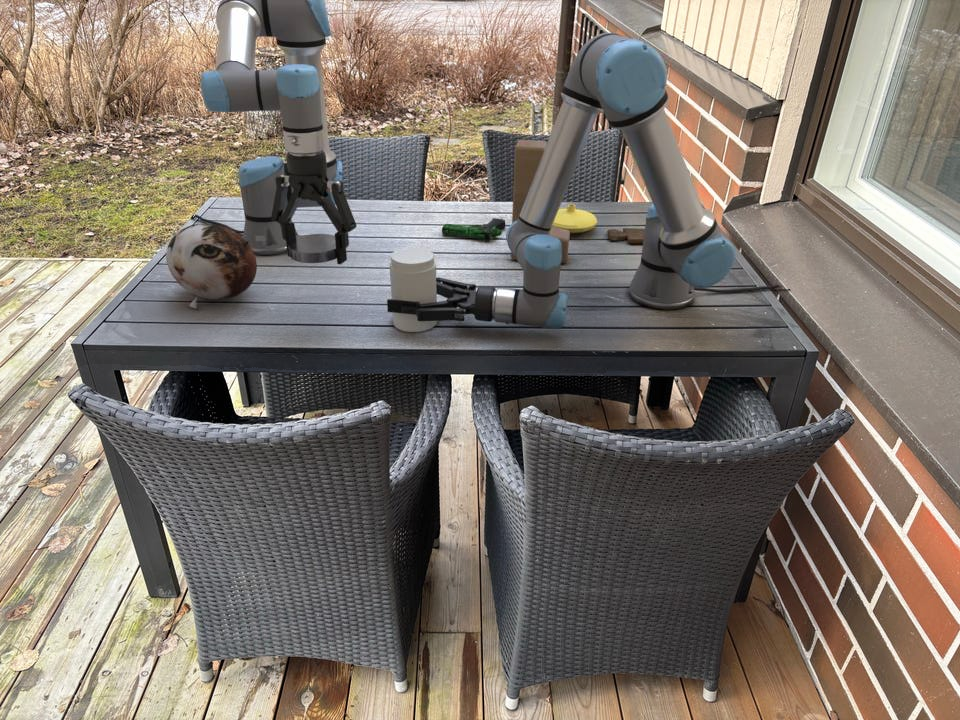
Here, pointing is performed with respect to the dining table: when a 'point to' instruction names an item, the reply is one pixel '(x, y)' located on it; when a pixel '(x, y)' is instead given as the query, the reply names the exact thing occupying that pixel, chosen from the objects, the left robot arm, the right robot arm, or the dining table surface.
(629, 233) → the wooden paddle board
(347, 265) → the dining table surface
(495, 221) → the handgun
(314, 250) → the lid
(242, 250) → the cat face ball
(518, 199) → the decorative block
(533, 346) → the dining table surface
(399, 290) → the jar
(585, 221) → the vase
